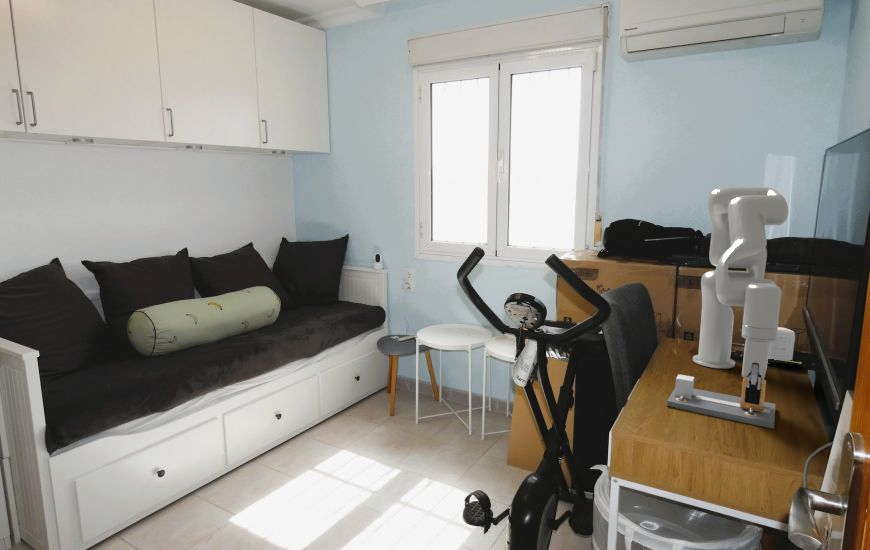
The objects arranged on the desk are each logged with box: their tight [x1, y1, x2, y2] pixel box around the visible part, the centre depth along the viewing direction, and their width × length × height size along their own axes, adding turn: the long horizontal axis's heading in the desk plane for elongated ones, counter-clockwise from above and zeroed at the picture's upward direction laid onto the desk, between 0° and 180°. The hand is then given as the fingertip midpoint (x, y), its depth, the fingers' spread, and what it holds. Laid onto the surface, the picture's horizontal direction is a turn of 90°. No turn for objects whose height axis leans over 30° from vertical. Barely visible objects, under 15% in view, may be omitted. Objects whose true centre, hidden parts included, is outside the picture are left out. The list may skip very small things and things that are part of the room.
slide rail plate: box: [666, 374, 776, 430], centre depth 136 cm, size 14×24×6 cm, turn 56°
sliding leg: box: [740, 376, 767, 413], centre depth 130 cm, size 7×5×7 cm
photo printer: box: [768, 326, 796, 361], centre depth 172 cm, size 10×4×12 cm, turn 81°
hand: (752, 397), depth 132 cm, fingers open, 9 cm apart
